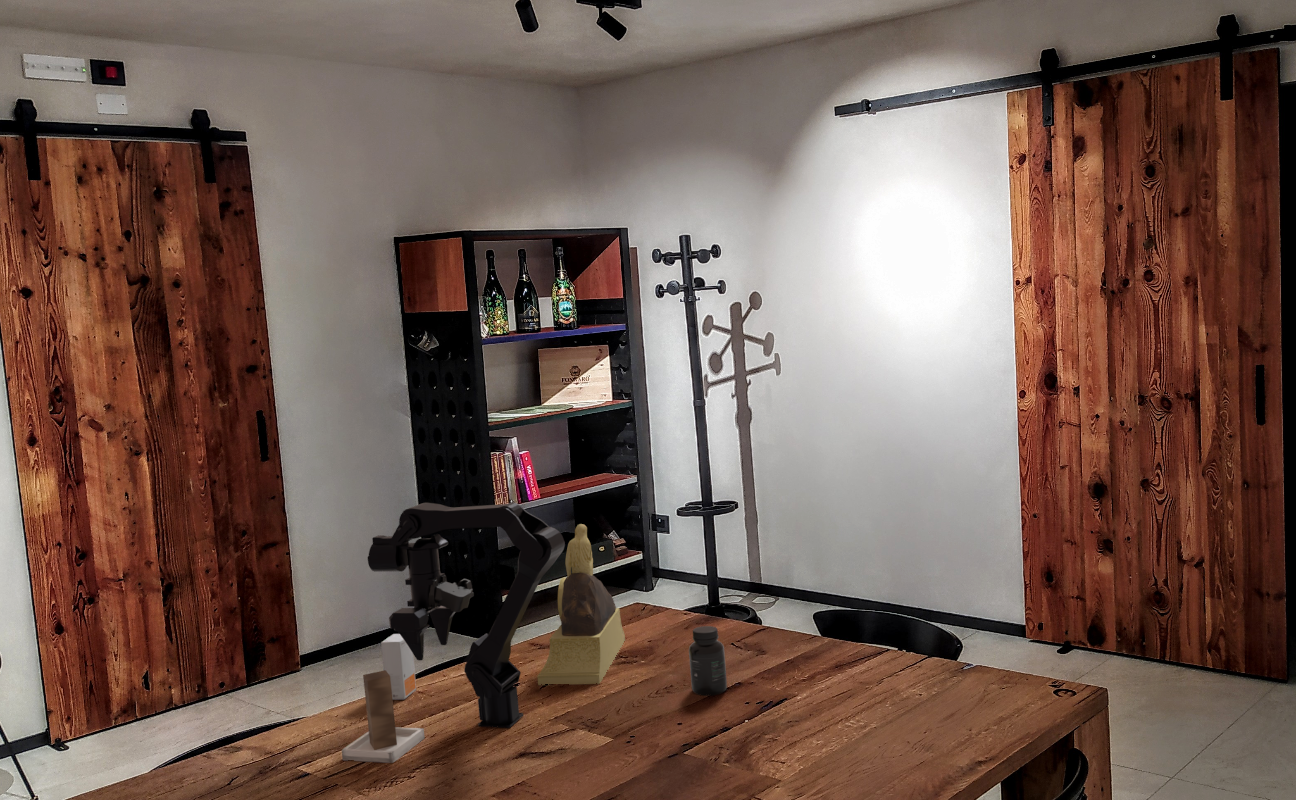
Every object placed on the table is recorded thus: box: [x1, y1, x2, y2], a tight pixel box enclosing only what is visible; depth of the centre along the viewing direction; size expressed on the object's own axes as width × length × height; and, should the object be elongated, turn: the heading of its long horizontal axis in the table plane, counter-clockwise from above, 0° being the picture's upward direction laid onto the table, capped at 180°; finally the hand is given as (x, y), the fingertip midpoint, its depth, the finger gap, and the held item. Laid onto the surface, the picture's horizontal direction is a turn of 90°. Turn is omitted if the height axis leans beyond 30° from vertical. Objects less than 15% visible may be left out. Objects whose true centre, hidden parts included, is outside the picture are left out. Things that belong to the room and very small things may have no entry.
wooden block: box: [362, 670, 397, 750], centre depth 194 cm, size 4×4×12 cm
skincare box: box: [380, 633, 417, 701], centre depth 222 cm, size 6×4×12 cm
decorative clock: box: [536, 523, 626, 686], centre depth 234 cm, size 28×13×30 cm, turn 171°
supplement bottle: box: [688, 625, 728, 697], centre depth 211 cm, size 7×7×12 cm
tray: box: [341, 726, 425, 764], centre depth 194 cm, size 10×11×2 cm
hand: (432, 652), depth 206 cm, fingers open, 9 cm apart
